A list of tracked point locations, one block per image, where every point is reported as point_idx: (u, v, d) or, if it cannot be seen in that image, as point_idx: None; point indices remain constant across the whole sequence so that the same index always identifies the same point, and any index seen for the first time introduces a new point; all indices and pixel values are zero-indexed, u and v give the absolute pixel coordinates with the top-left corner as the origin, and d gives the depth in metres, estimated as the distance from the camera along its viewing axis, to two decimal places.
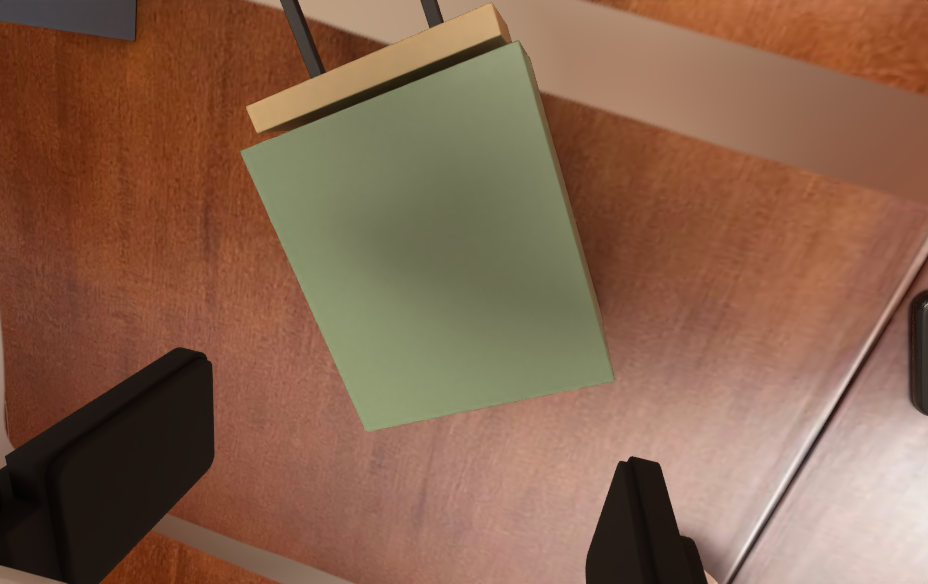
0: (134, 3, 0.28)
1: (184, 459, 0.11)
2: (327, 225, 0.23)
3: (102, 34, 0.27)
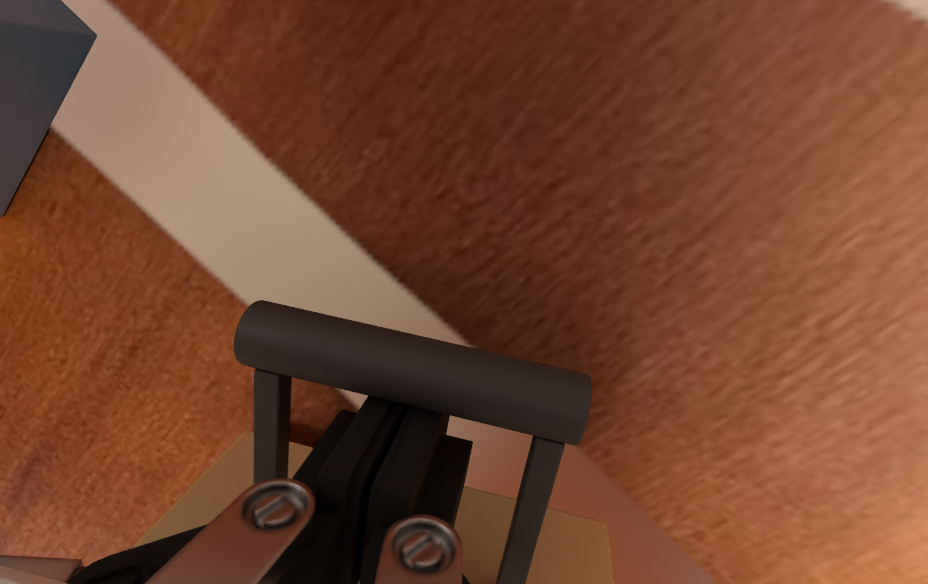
0: (23, 169, 0.15)
1: None
2: None
3: None
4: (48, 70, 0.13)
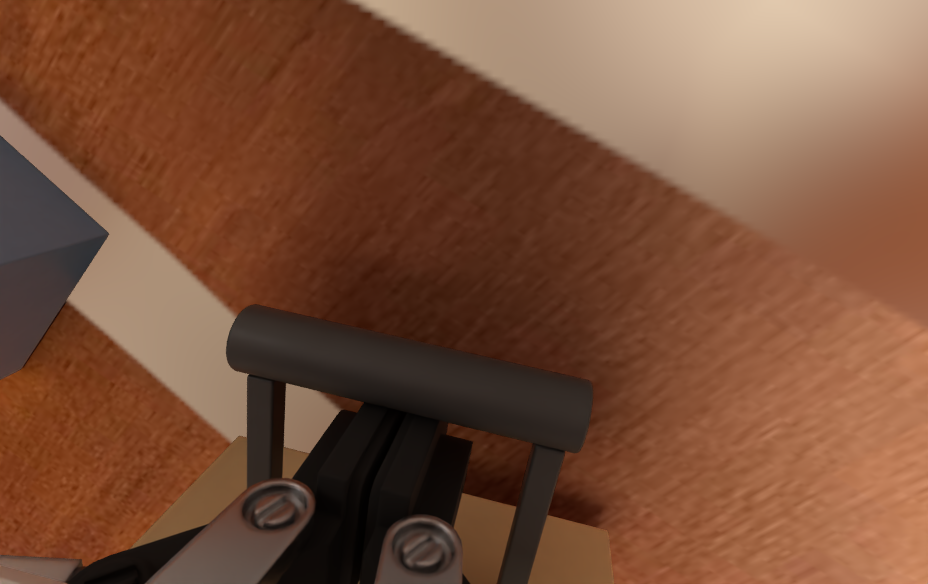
0: (41, 333, 0.17)
1: None
2: None
3: None
4: (66, 269, 0.15)
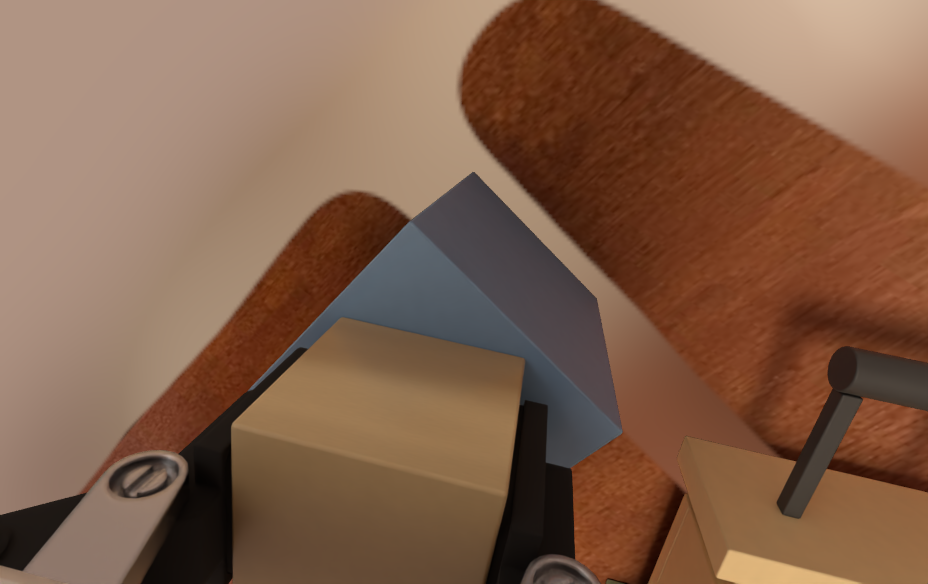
0: None
1: None
2: None
3: None
4: None
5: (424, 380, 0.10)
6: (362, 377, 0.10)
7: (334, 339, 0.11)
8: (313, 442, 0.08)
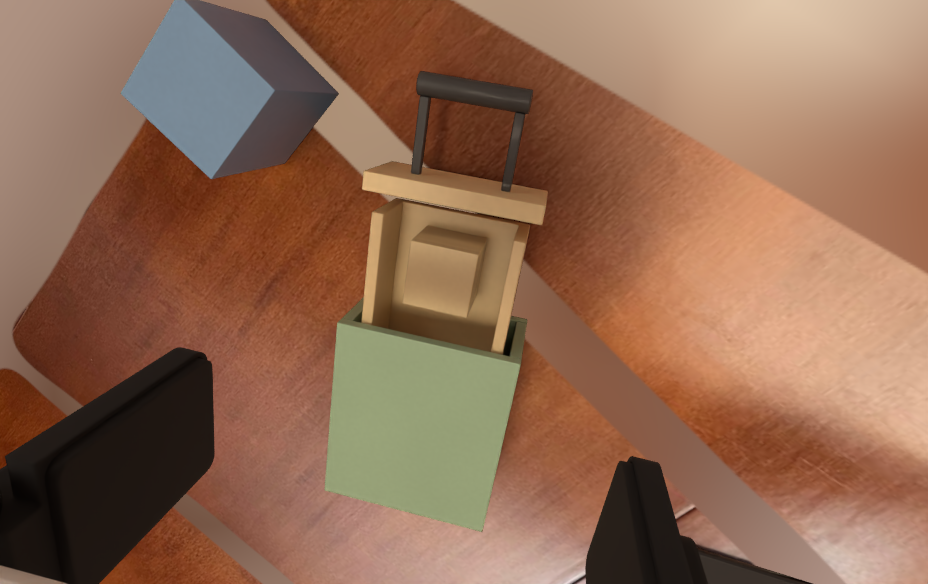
0: (298, 144, 0.39)
1: (184, 459, 0.11)
2: (367, 383, 0.36)
3: None
4: (323, 106, 0.36)
5: (456, 238, 0.35)
6: (439, 236, 0.35)
7: (427, 229, 0.36)
8: (431, 244, 0.33)
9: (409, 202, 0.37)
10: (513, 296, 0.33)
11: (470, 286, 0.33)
